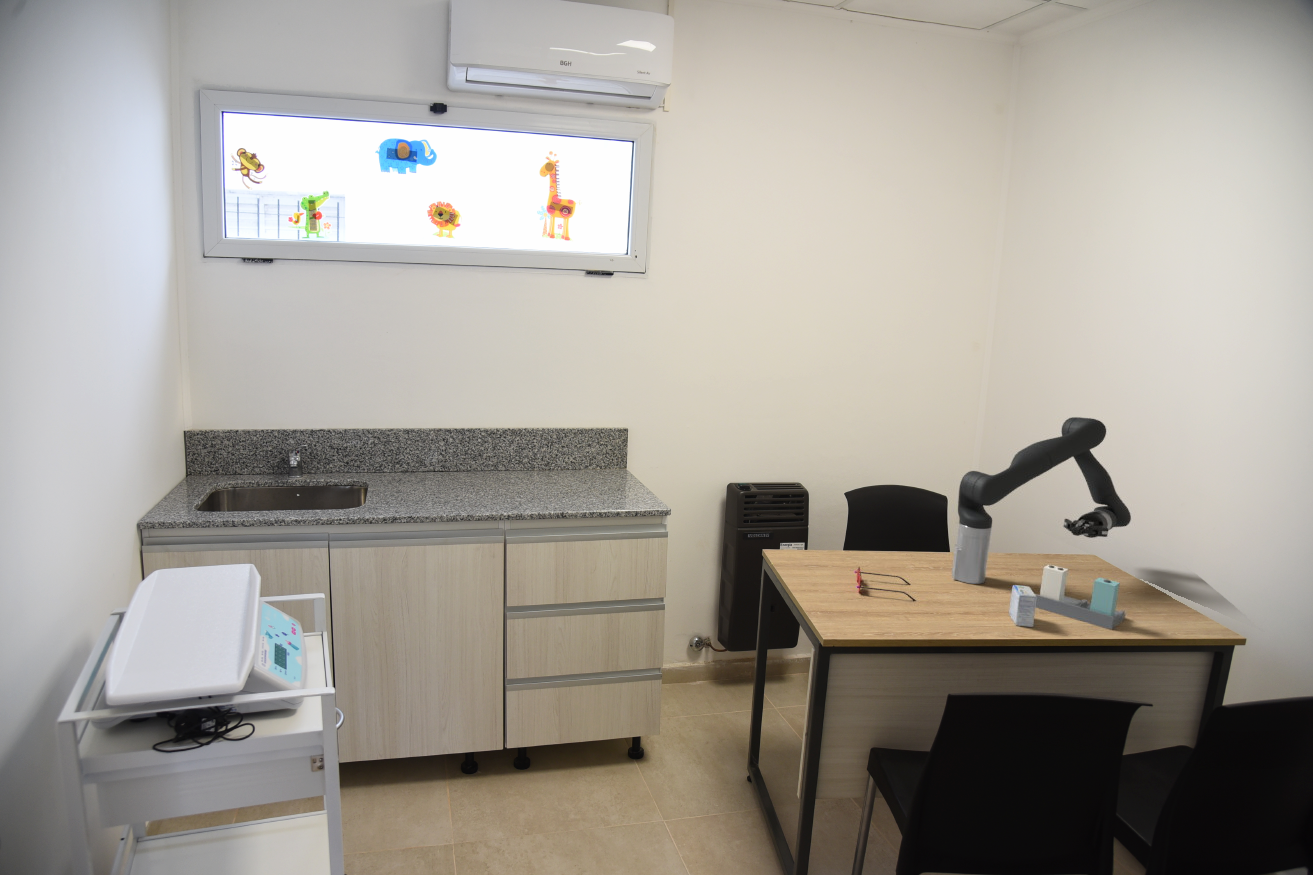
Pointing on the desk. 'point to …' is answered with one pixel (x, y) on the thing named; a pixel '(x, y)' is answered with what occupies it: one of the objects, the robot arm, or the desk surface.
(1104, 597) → the teal block
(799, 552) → the desk surface
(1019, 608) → the medicine box
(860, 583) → the glasses
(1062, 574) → the white battery block
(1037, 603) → the gray divided tray
